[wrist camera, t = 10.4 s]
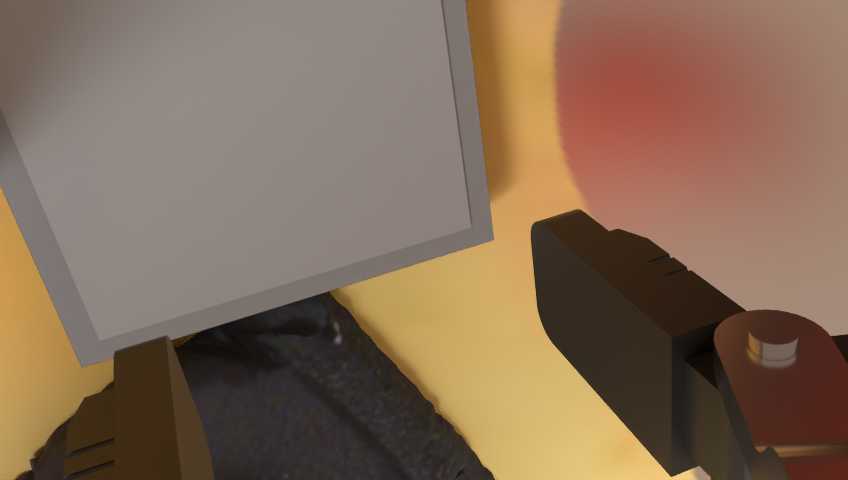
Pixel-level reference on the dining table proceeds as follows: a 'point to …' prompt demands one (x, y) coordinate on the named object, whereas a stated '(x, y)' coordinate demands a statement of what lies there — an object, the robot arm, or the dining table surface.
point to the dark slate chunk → (305, 404)
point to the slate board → (232, 153)
